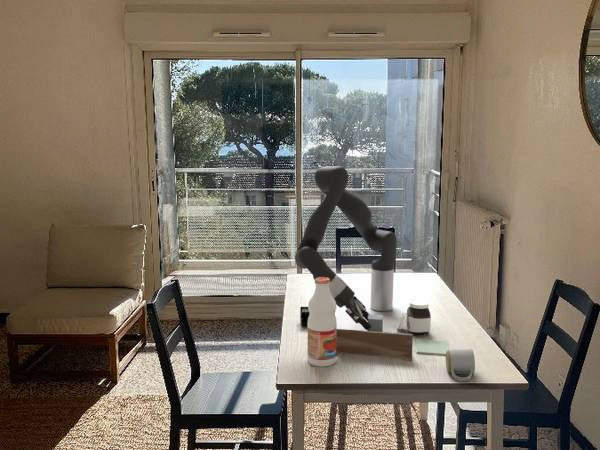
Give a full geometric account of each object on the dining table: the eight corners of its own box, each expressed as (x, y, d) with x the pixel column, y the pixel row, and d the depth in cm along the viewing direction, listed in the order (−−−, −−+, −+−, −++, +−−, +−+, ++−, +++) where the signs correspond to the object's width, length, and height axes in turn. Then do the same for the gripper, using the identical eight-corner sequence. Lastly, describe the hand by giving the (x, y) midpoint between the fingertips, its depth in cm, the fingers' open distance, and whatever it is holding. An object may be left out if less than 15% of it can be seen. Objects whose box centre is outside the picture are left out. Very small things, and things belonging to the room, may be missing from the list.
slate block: (368, 340, 208) (368, 314, 207) (382, 341, 207) (383, 315, 206) (367, 346, 203) (367, 318, 202) (381, 347, 202) (382, 319, 201)
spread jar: (432, 336, 213) (434, 306, 211) (403, 338, 211) (404, 307, 209) (420, 325, 224) (422, 296, 222) (392, 327, 222) (393, 297, 220)
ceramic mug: (444, 367, 186) (445, 344, 184) (470, 368, 185) (471, 345, 184) (449, 382, 176) (450, 358, 174) (477, 383, 175) (478, 359, 173)
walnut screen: (335, 348, 201) (335, 326, 199) (412, 354, 196) (412, 332, 194) (333, 354, 196) (333, 331, 194) (411, 360, 191) (412, 337, 190)
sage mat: (416, 340, 208) (416, 338, 208) (448, 342, 206) (448, 341, 206) (416, 353, 197) (416, 351, 197) (449, 355, 195) (450, 354, 195)
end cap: (325, 321, 229) (326, 304, 228) (325, 327, 222) (326, 310, 221) (300, 321, 229) (300, 304, 228) (299, 327, 222) (299, 310, 221)
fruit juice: (313, 354, 196) (313, 273, 191) (339, 358, 193) (340, 276, 188) (303, 364, 188) (303, 280, 183) (330, 369, 184) (331, 283, 179)
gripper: (343, 289, 197) (376, 324, 197) (348, 279, 211) (379, 311, 210) (327, 304, 199) (360, 338, 199) (333, 292, 213) (364, 324, 212)
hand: (370, 324), depth 205 cm, fingers open, 8 cm apart
